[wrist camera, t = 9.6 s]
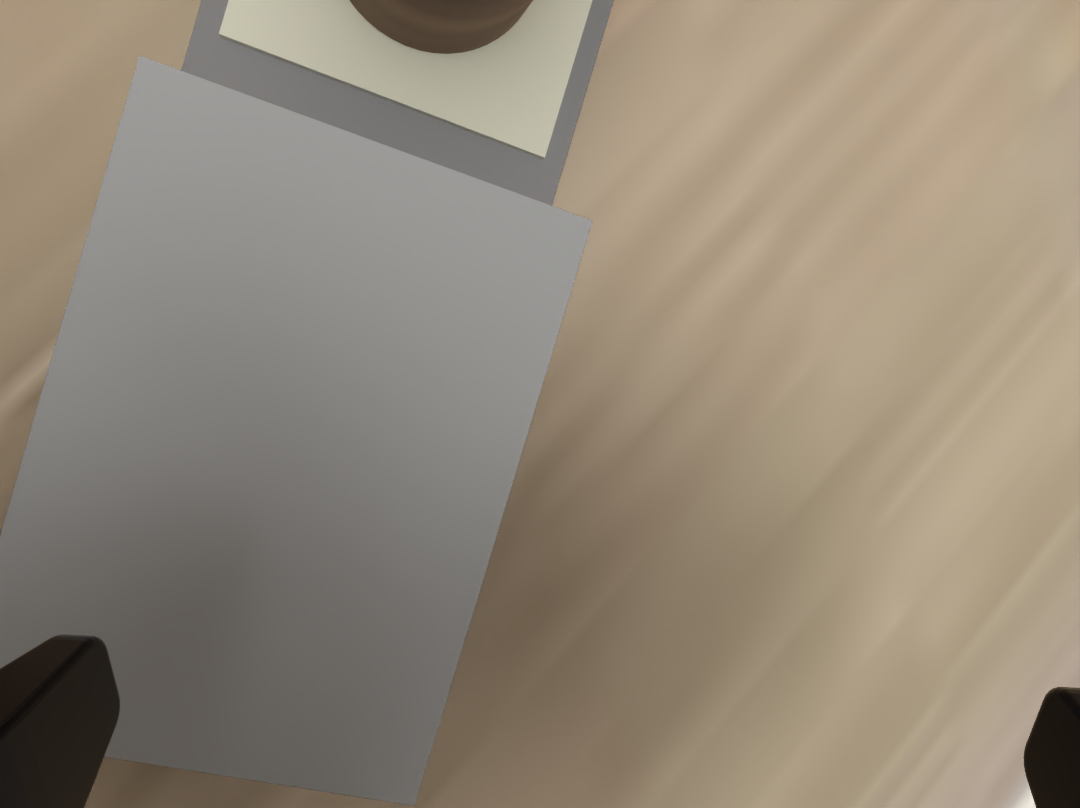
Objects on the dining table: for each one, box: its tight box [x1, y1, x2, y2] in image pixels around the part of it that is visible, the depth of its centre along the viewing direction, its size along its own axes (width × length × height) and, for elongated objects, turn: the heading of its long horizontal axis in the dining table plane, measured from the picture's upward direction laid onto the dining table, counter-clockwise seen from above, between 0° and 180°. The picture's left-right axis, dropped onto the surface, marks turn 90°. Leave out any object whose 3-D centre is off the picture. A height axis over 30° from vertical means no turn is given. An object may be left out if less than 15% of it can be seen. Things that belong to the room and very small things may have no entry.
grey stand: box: [0, 0, 614, 806], centre depth 16 cm, size 20×8×6 cm, turn 162°
